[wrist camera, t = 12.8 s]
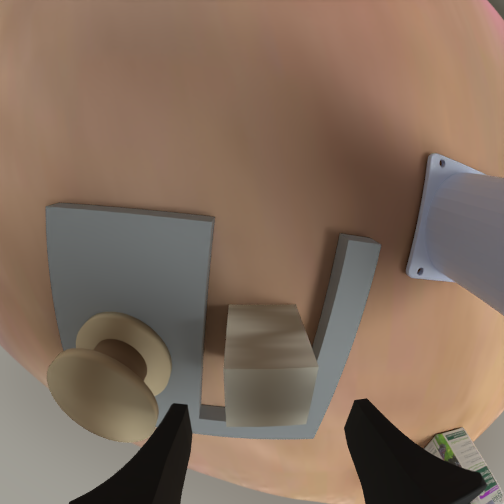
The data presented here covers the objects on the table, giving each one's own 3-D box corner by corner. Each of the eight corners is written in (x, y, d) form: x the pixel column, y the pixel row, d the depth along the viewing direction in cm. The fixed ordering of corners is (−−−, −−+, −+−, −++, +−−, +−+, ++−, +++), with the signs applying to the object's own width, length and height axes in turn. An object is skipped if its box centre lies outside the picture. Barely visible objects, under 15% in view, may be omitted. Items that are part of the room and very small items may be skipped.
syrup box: (464, 425, 24) (511, 499, 10) (440, 453, 25) (478, 524, 11) (435, 433, 23) (483, 519, 9) (411, 461, 25) (447, 542, 11)
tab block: (295, 304, 17) (318, 366, 11) (290, 357, 18) (306, 424, 13) (228, 304, 17) (223, 368, 11) (229, 357, 18) (226, 426, 12)
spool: (171, 321, 16) (150, 374, 11) (173, 399, 17) (160, 451, 13) (74, 302, 15) (34, 343, 11) (89, 380, 17) (64, 424, 12)
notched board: (370, 238, 16) (381, 244, 15) (310, 425, 21) (313, 438, 19) (59, 202, 15) (45, 206, 13) (86, 395, 19) (80, 407, 18)
